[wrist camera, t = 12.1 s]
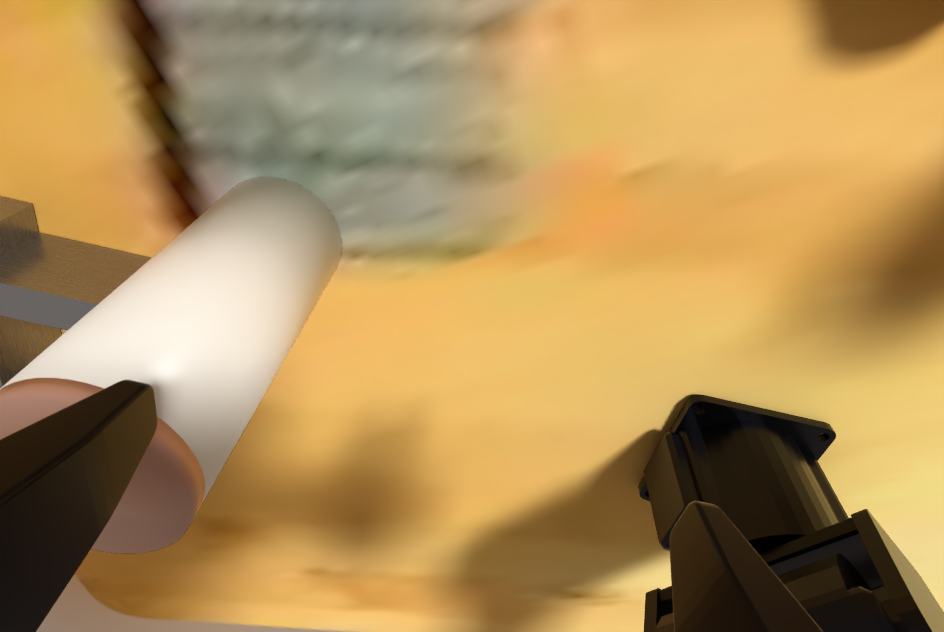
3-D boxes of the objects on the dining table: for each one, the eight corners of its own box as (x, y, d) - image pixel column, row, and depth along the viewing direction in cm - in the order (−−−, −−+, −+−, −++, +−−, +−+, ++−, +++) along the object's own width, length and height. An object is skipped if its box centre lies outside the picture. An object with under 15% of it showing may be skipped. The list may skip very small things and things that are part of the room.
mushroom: (362, 219, 22) (219, 465, 12) (315, 310, 24) (163, 577, 14) (239, 151, 21) (-33, 358, 11) (203, 254, 23) (-47, 500, 13)
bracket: (149, 230, 23) (86, 280, 19) (172, 442, 29) (127, 506, 26) (-8, 194, 22) (-99, 239, 19) (51, 417, 29) (-10, 478, 26)
